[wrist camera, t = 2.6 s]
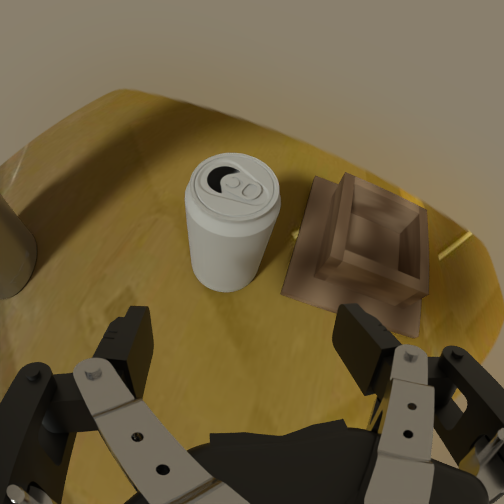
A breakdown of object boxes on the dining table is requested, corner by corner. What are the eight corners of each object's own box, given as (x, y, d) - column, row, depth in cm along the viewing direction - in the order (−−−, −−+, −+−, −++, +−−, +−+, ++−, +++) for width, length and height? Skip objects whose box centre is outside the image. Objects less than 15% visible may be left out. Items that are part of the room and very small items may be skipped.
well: (280, 294, 27) (295, 272, 23) (313, 179, 35) (326, 149, 30) (414, 338, 27) (445, 325, 22) (418, 225, 34) (440, 203, 30)
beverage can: (215, 225, 30) (220, 136, 19) (269, 256, 29) (301, 175, 19) (179, 272, 27) (162, 192, 16) (236, 307, 26) (254, 244, 16)
